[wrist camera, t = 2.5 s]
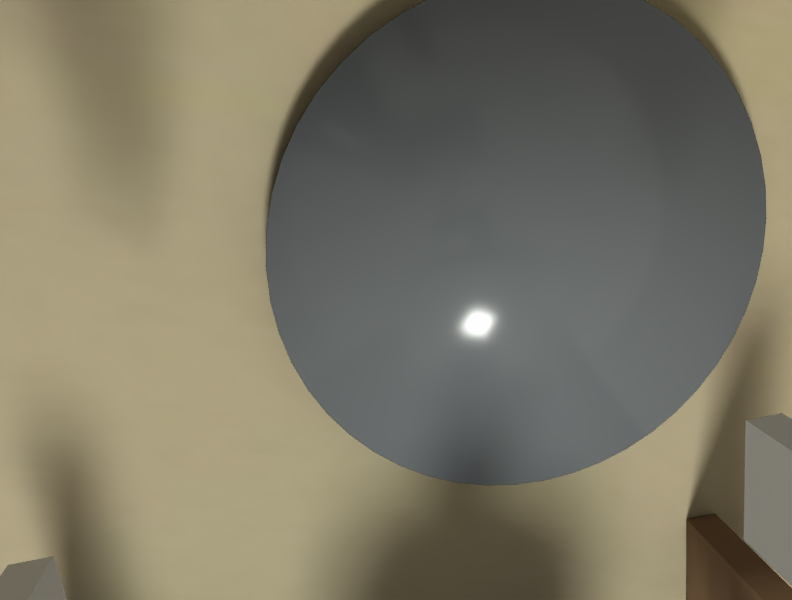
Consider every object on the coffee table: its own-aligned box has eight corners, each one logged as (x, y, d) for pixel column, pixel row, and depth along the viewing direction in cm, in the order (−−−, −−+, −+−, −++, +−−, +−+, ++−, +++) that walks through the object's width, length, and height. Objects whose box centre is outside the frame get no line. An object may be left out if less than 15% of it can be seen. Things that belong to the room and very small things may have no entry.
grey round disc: (216, 15, 16) (213, 11, 15) (760, -51, 17) (776, -57, 16) (314, 514, 20) (314, 526, 19) (745, 428, 21) (757, 437, 21)
